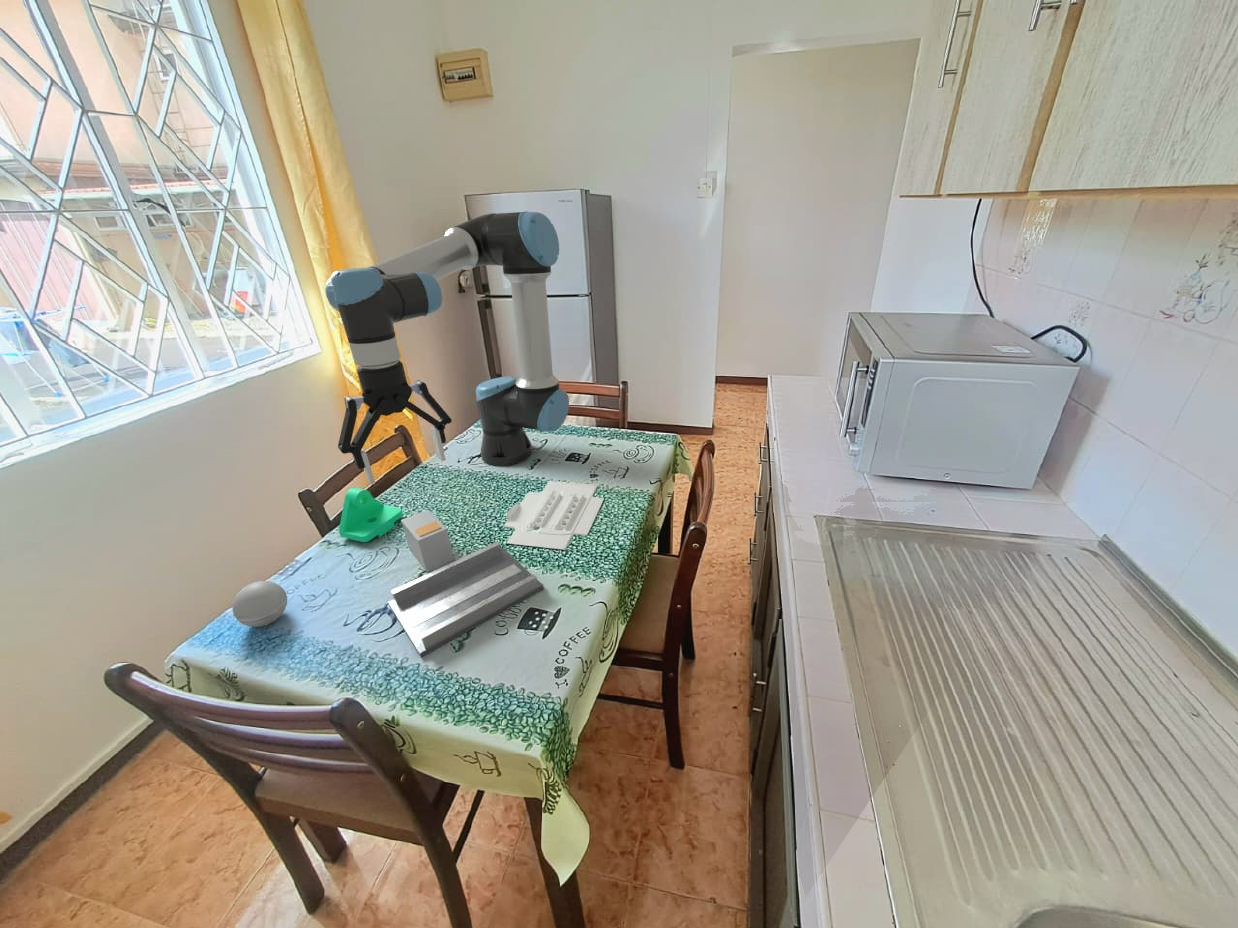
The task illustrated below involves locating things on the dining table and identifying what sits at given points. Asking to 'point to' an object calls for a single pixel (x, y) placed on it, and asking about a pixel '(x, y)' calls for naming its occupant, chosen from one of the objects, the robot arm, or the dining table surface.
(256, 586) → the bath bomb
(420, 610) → the rail
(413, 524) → the module
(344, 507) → the camera mount
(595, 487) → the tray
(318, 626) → the dining table surface
